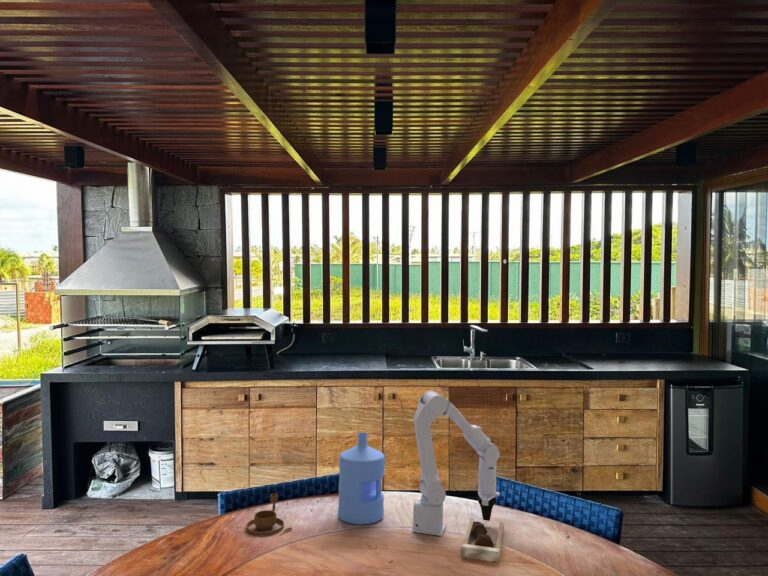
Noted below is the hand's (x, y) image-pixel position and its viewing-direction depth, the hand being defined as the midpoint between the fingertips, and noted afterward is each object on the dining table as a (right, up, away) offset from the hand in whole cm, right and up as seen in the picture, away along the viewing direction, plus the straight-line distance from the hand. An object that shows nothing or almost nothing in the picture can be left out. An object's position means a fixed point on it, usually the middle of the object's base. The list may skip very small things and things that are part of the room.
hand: (486, 519), depth 179 cm
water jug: (-42, -1, +5) cm, 42 cm away
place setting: (-71, -1, -2) cm, 71 cm away
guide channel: (-3, -2, -12) cm, 13 cm away
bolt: (-4, -2, -12) cm, 13 cm away
